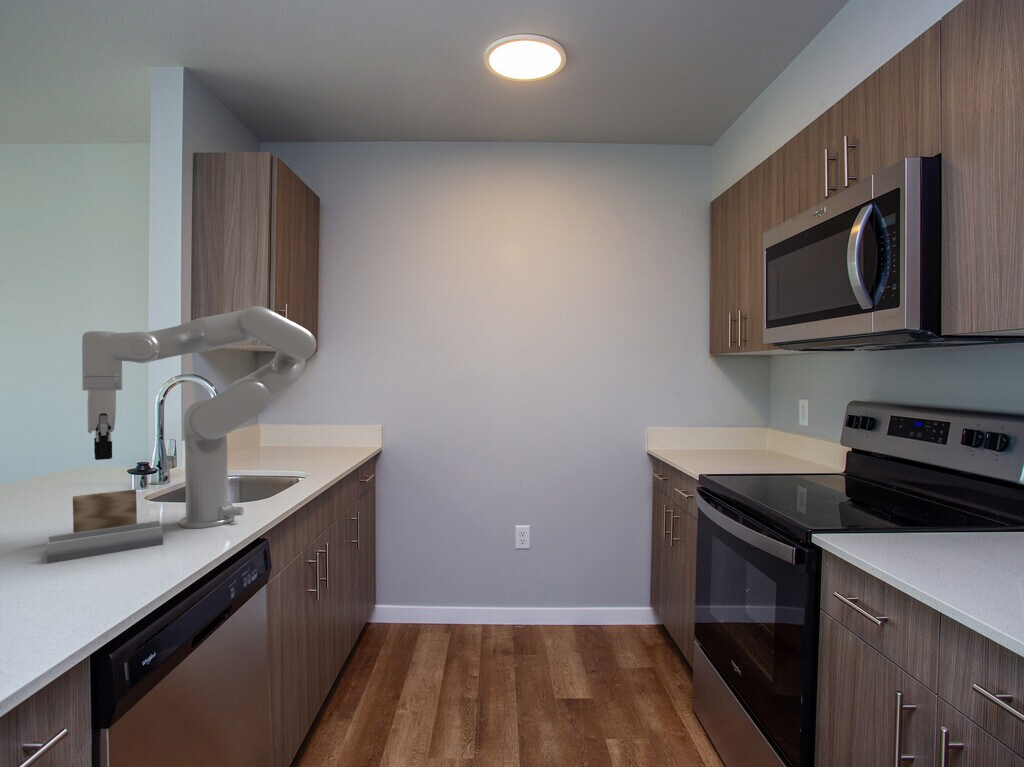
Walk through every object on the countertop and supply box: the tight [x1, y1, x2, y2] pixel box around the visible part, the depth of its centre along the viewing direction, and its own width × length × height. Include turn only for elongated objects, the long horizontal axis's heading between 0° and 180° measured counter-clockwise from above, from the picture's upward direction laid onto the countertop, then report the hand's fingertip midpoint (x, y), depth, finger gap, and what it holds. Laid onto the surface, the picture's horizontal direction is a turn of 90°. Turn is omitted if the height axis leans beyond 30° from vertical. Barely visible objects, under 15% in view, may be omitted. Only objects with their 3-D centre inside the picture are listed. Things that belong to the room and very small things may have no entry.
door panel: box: [72, 489, 138, 533], centre depth 131 cm, size 12×3×10 cm, turn 128°
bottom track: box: [46, 520, 164, 564], centre depth 122 cm, size 20×10×4 cm, turn 128°
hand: (103, 456), depth 130 cm, fingers open, 9 cm apart
